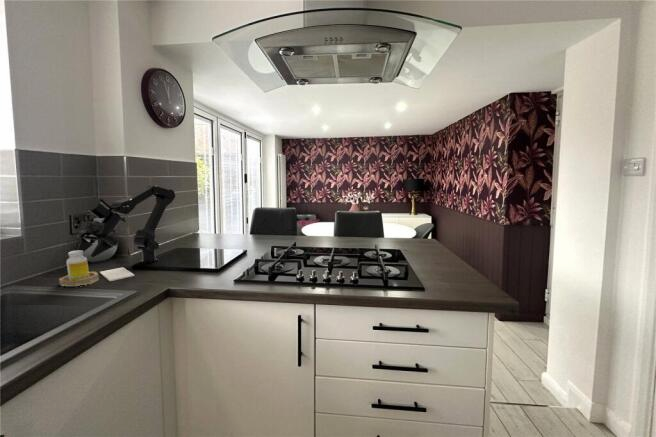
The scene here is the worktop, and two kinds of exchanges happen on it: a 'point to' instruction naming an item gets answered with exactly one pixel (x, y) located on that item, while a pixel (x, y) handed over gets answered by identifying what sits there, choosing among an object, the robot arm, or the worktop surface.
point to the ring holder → (92, 278)
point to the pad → (116, 274)
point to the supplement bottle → (77, 266)
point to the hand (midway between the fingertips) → (84, 255)
